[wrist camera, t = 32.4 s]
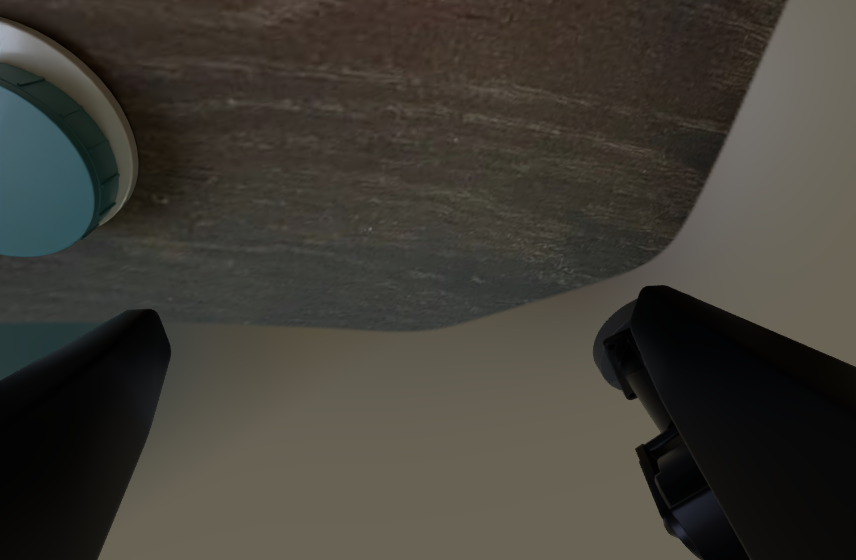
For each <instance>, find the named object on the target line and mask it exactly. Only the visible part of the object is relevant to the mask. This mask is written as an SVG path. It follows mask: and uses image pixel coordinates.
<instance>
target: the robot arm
mask: <svg viewBox="0 0 856 560" xmlns="http://www.w3.org/2000/svg"><path fill="white" fill-rule="evenodd" d="M602 346H603V348H604V351H605V353H606V355H607V357H608V360H609V362H610V364H611V366H612V369H613V371H614V373H615V375H616V378H617V380H618V382H619V385H620V387H621V389H622V391H623V394H624V395H625V397H626V398H627V399H628V400H633V399H635V398H639V400H640V401H641V403H642V404H643V406H644V408H645V409H646V411H647V412H648V414H649V415H650V417H651V418H652V419H653V421H654V423H655V424H656V425H657V427H658V429H659V430H660V432H661V434H659V435H658V436H656V437H655V438H654V439H652V440H650V441H649V442H647V443H646V444H641V445H640V446H638V447H637V448H636V449H635V450H636V452H637V455H638V457H639V459H640V461H639V463H640V466H641V468H642V470H643V473H644V476H645V478H646V481H647V483H648V485H649V488H650V491H651V493H652V496H653V498H654V500H655V503H656V505H657V508H658V510H659V513H660V515H661V517H662V519H663V522H664V526H665V528H666V530H667V531H668V533H669V534H670V535H672V536H674V537H677V538H679V539H680V540H681V541H682V542H683V544H684V545H685V546H686V547H687V548H688V549H689V550H690V551H691V552H692V553H693V554H694V555H695V556H697V557H698V558H699V559H701V560H856V367H855V366H853V365H850V364H848V363H845V362H843V361H841V360H839V359H836V358H834V357H832V356H829V355H827V354H825V353H822V352H820V351H818V350H815V349H813V348H810V347H808V346H806V345H804V344H801V343H799V342H796V341H794V340H792V339H790V338H787V337H785V336H783V335H780V334H778V333H776V332H773V331H771V330H769V329H766V328H764V327H762V326H759V325H757V324H755V323H752V322H750V321H748V320H745V319H743V318H740V317H738V316H736V315H734V314H731V313H729V312H727V311H724V310H722V309H720V308H717V307H715V306H713V305H710V304H708V303H705V302H703V301H701V300H698V299H696V298H694V297H692V296H689V295H687V294H685V293H682V292H680V291H678V290H675V289H673V288H671V287H668V286H665V285H659V286H658V285H657V286H646V287H644V288H643V289H642V290H641V291H640V293H639V296H638V299H637V302H636V305H635V308H634V311H633V314H632V317H631V322H630V328H628V329H625V330H623V331H621V332H619V333H617V334H615V335H612V336H610V337H608V338H606V339H605V340H604V341H603V343H602ZM170 356H171V348H170V343H169V341H168V338H167V335H166V333H165V330H164V327H163V325H162V322H161V320H160V317H159V315H158V313H157V312H156V311H154V310H152V309H136V310H127V311H125V312H123V313H121V314H120V315H118V316H116V317H114V318H112V319H111V320H109V321H107V322H105V323H103V324H102V325H100V326H98V327H96V328H94V329H93V330H91V331H89V332H87V333H85V334H84V335H82V336H80V337H78V338H76V339H75V340H73V341H71V342H69V343H67V344H65V345H64V346H62V347H60V348H58V349H56V350H55V351H53V352H51V353H49V354H47V355H46V356H44V357H42V358H40V359H38V360H37V361H35V362H33V363H31V364H29V365H28V366H26V367H24V368H22V369H20V370H19V371H17V372H15V373H13V374H12V375H10V376H8V377H6V378H4V379H2V380H1V381H0V560H97V559H98V557H99V555H100V552H101V550H102V547H103V545H104V542H105V540H106V537H107V535H108V532H109V530H110V528H111V525H112V523H113V521H114V518H115V516H116V513H117V511H118V508H119V506H120V503H121V501H122V499H123V496H124V494H125V491H126V489H127V487H128V484H129V482H130V479H131V477H132V474H133V472H134V469H135V467H136V465H137V462H138V460H139V457H140V455H141V452H142V450H143V448H144V445H145V442H146V440H147V437H148V434H149V431H150V428H151V425H152V422H153V418H154V415H155V411H156V407H157V403H158V400H159V397H160V393H161V389H162V386H163V382H164V379H165V375H166V371H167V368H168V364H169V361H170Z"/></svg>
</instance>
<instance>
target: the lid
mask: <svg viewBox="0 0 856 560" xmlns="http://www.w3.org/2000/svg"><path fill="white" fill-rule="evenodd" d="M83 108H84V107H83V106H82V105H79V104H78V103H77V102H76V101H75V100H73V99H72V98H71V97H70V96H68V95H67V94H66V93H65V92H63V91H62V90H60V89H59V88H57V87H56V86H54V85H53V84H52V83H50V82H48V81H46V80H45V78H44V77H42V76H41V77H39V76H37V75H35V74H33V73H30V72H28V71H26V70H24V69H21V68H18V67H15V66H12V65H9V64H6V63H1V62H0V255H8V256H17V257H33V256H42V255H48V254H52V253H55V252H58V251H61V250H63V249H65V248H67V247H69V246H71V245H72V244H74V243H75V242H77V241H78V240H79V239H81V240H82V239H84V238H85V237H86V236H87V235H88V234H90V233H91V232H92V231H93V230H94V229H95V228H97V227H98V226H99V225H100V224H99V222H100V221H101V220H102V219H103V218H104V217H105V216H106V215H107V214H108V213H109V212H110V210H111V209H112V208H113V207H114V206H115V205H116V202H115V200H116V197H117V193H118V186H119V177H120V174H119V173H118V168H117V164H116V160H115V157H114V154H113V152H112V149H111V147H110V145H109V140H107V139H106V137H105V135H104V134H103V132H102V131H101V129H100V128H99V127H98V125H97V124H96V122H95V121H94V120H93V119H92V118H91V117H90V115H89V114H88V113H87V112H86V111H85V110H84V109H83Z"/></svg>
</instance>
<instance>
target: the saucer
mask: <svg viewBox="0 0 856 560" xmlns="http://www.w3.org/2000/svg"><path fill="white" fill-rule="evenodd" d="M0 62H1V63H6V64H9V65H12V66H15V67H18V68H21V69H24V70H26V71H28V72H30V73H33V74H35V75H37V76H39V77H41V76H42V77H44V78H45V80H46V81H48V82H50V83H52V84H53V85H54V86H56V87H57V88H59V89H60V90H62V91H63V92H65V93H66V94H67V95H68V96H70V97H71V98H72V99H73V100H75V101H76V102H77V103H78V104H79V105H82V106H83V107H84V108H83V109H84V110H85V111H86V112H87V113H88V114H89V115H90V117H91V118H92V119H93V120H94V121H95V122H96V124H97V125H98V127H99V128H100V129H101V131H102V132H103V134H104V135H105V137H106V139H107V140H109V145H110V147H111V149H112V152H113V154H114V157H115V160H116V164H117V168H118V173H119V174H120V177H119V186H118V193H117V197H116V200H115V202H116V205H115V206H114V207H113V208H112V209H111V210H110V212H109V213H108V214H107V215H106V216H105V217H104V218H103V219H102V220H101V221H100V222H99V224H100V225H102V224H104V223H106V222H107V221H108V220H110V219H111V218H112V217H114V216H115V215H116V214H117V213H118V212H119V211H120V210H121V209H122V208H123V207H124V206H125V205H126V203H127V202H128V200H129V198H130V197H131V195H132V193H133V190H134V188H135V185H136V181H137V176H138V153H137V146H136V142H135V138H134V134H133V132H132V129H131V127H130V124H129V122H128V119H127V118H126V116H125V114H124V112H123V110H122V108H121V106H120V105H119V103H118V102H117V100H116V99H115V97H114V96H113V94H112V93H111V92H110V90H109V89H108V88H107V87H106V86H105V84H104V83H103V82H102V81H101V79H100V78H99V77H98V76H97V75H96V74H95V73H94V72H93V71H92V70H91V69H90V68H89V67H88V66H87V65H86V64H85V63H83V62H82V61H81V60H80V59H79V58H77V57H76V56H75V55H74V54H72V53H71V52H70V51H68V50H67V49H66V48H64V47H63V46H61V45H60V44H58V43H57V42H55V41H54V40H52V39H50V38H49V37H47V36H45V35H43V34H41V33H40V32H38V31H36V30H34V29H32V28H29V27H27V26H25V25H22V24H20V23H18V22H15V21H12V20H9V19H6V18H3V17H0ZM100 225H99V226H100ZM99 226H98V227H99Z"/></svg>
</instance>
